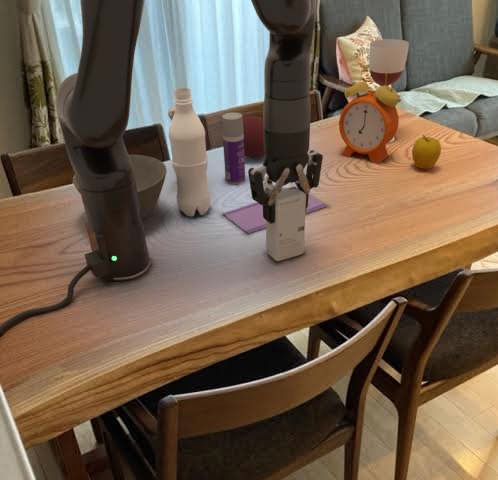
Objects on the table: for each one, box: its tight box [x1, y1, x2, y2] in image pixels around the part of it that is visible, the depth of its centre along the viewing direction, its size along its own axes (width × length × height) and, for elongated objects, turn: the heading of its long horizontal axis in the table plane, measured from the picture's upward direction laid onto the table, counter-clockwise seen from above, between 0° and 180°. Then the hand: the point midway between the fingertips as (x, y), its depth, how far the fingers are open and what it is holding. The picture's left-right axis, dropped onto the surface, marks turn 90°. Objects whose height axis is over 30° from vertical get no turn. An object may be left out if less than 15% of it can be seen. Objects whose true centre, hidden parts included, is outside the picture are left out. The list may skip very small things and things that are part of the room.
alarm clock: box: [338, 68, 400, 164], centre depth 130 cm, size 13×6×20 cm, turn 53°
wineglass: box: [368, 38, 410, 144], centre depth 138 cm, size 9×10×23 cm
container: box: [221, 112, 246, 185], centre depth 122 cm, size 5×5×15 cm
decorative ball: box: [242, 115, 265, 159], centre depth 134 cm, size 10×10×10 cm
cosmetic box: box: [265, 185, 306, 262], centre depth 98 cm, size 6×4×12 cm
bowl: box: [72, 154, 168, 219], centre depth 112 cm, size 19×19×10 cm
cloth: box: [222, 194, 328, 235], centre depth 115 cm, size 20×10×1 cm, turn 122°
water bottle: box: [168, 86, 212, 217], centre depth 108 cm, size 7×7×25 cm
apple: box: [411, 134, 442, 170], centre depth 127 cm, size 6×6×8 cm
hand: (285, 216), depth 97 cm, fingers closed on cosmetic box, 6 cm apart
